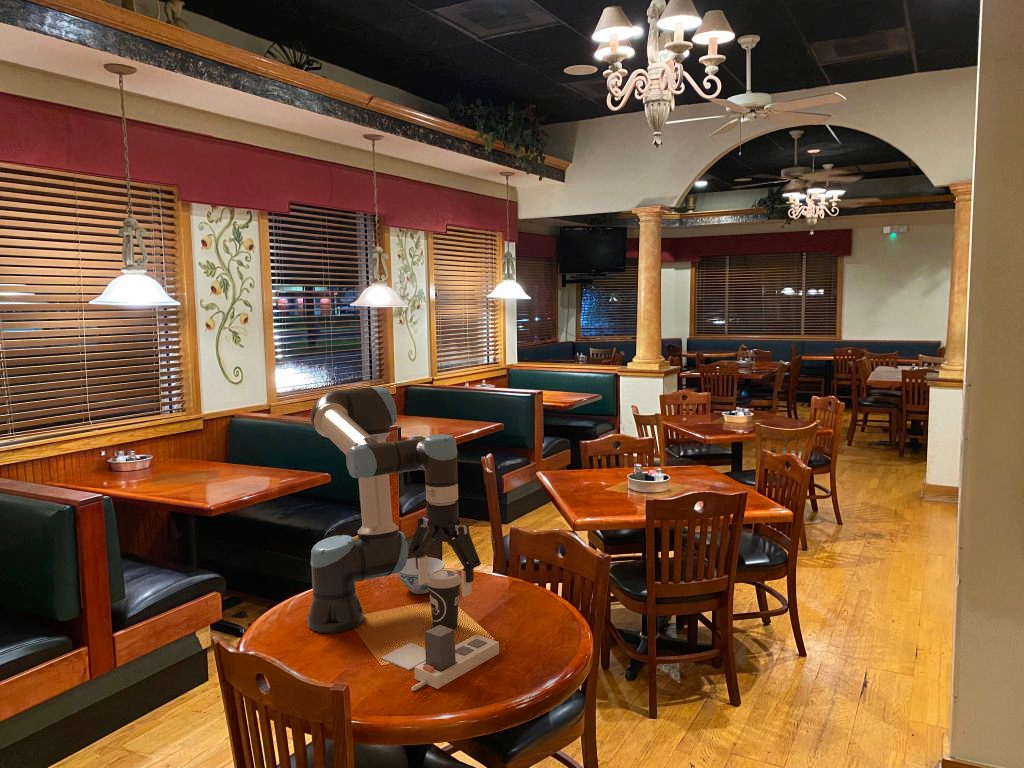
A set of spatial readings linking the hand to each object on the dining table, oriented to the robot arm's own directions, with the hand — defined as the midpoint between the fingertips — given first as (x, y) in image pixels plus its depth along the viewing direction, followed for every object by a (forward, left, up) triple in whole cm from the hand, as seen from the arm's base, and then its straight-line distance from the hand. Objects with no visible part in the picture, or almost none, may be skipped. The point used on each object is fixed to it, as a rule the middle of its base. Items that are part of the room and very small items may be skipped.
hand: (444, 589), depth 180 cm
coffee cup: (-18, +18, -21) cm, 34 cm away
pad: (-13, 0, -21) cm, 25 cm away
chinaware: (-43, +33, -21) cm, 59 cm away
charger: (0, -2, -19) cm, 19 cm away
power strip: (0, +2, -21) cm, 21 cm away
